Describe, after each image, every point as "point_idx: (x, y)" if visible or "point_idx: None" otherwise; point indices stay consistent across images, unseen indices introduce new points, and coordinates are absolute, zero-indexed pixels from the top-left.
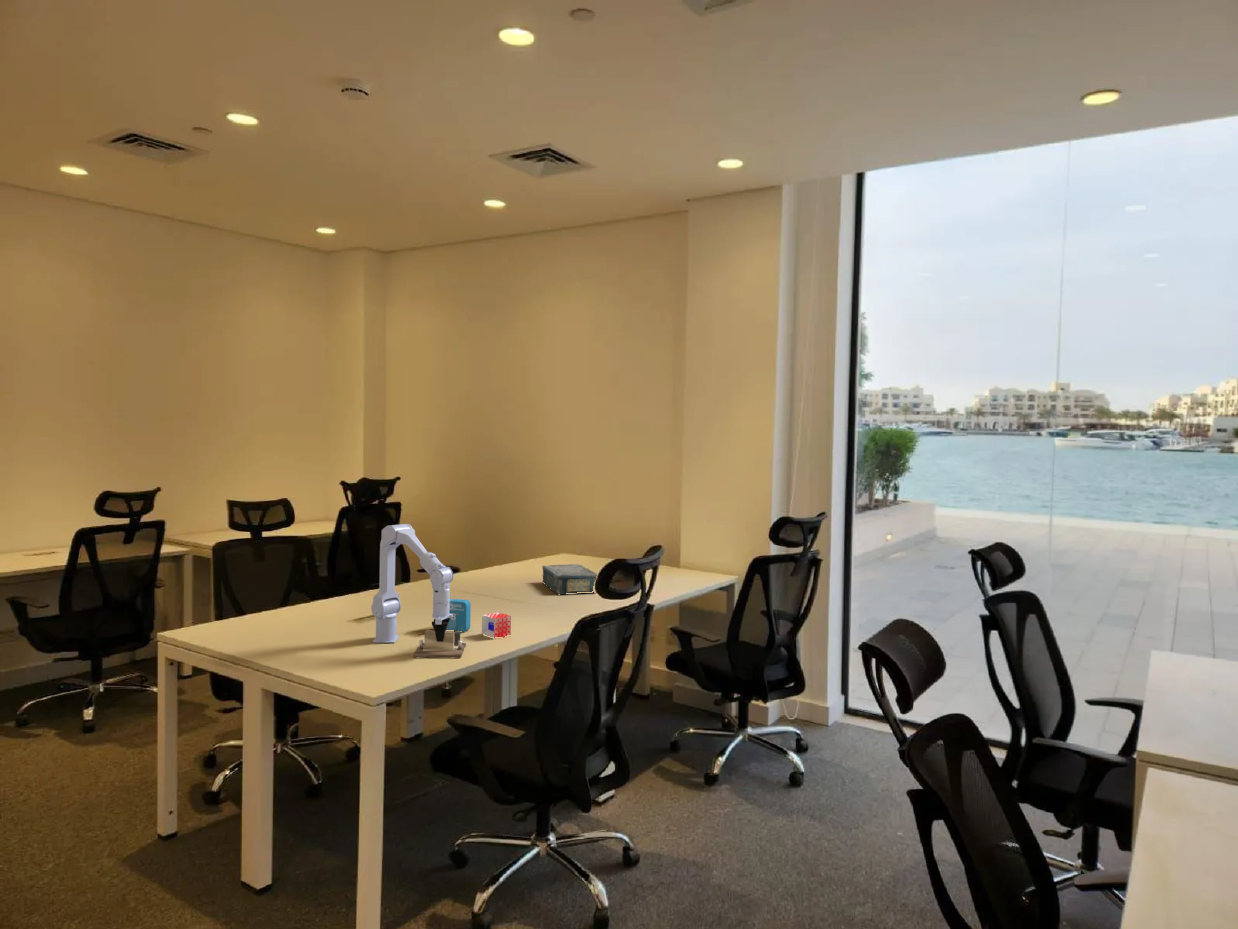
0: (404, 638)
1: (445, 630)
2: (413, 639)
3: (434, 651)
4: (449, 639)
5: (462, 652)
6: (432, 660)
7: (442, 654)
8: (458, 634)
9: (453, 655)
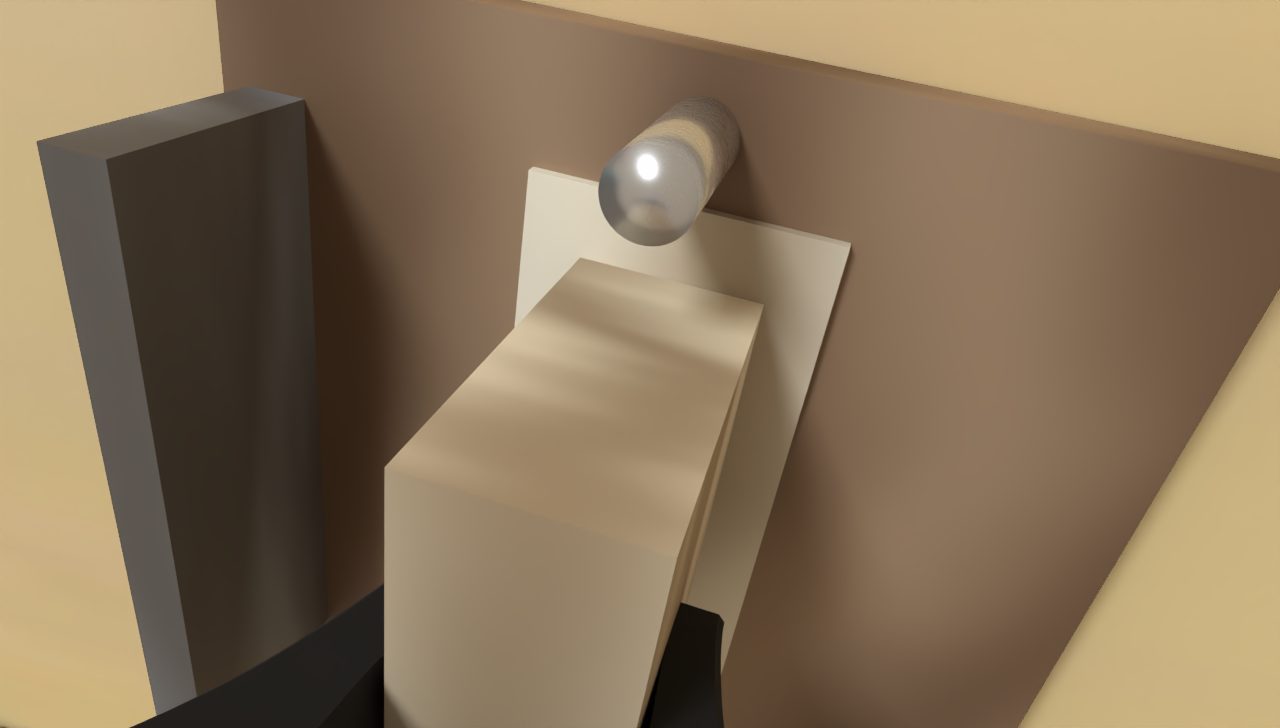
0: (29, 694)
1: (372, 676)
2: (44, 631)
3: (791, 618)
4: (701, 511)
5: (923, 91)
6: (1193, 684)
7: (1068, 549)
8: (138, 189)
9: (1231, 355)
